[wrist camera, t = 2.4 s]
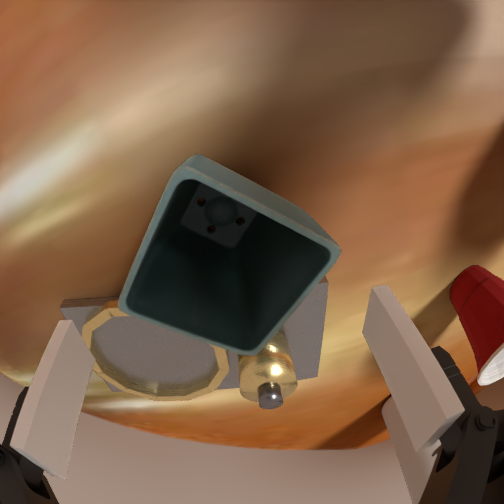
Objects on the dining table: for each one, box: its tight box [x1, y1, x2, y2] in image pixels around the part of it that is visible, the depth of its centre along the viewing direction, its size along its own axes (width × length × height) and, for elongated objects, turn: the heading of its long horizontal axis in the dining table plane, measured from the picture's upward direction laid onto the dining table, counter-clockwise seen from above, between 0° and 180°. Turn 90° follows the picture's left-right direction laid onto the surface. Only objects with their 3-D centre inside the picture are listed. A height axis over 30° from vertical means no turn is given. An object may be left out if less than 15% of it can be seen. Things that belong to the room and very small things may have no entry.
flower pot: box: [118, 154, 341, 356], centre depth 18 cm, size 9×9×9 cm
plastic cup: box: [450, 265, 504, 385], centre depth 24 cm, size 11×11×12 cm
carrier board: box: [60, 276, 328, 409], centre depth 26 cm, size 15×25×8 cm, turn 94°
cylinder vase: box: [382, 396, 441, 504], centre depth 31 cm, size 12×12×25 cm
